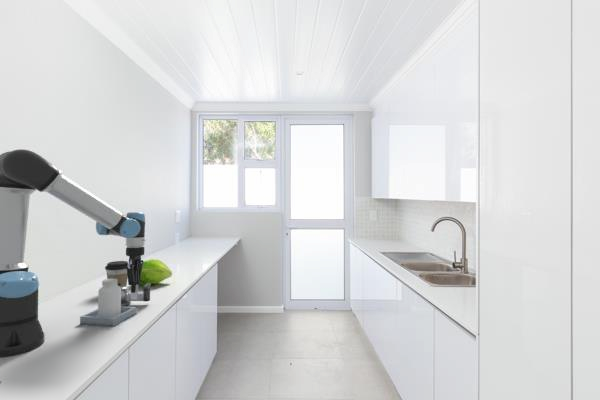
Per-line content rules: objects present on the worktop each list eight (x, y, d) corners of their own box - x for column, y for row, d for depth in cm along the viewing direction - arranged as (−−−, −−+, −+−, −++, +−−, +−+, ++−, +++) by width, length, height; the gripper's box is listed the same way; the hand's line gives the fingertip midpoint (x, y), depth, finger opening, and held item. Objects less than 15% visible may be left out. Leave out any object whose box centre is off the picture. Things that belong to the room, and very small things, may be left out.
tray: (113, 326, 129) (113, 319, 129) (80, 323, 131) (80, 316, 131) (136, 313, 143) (136, 307, 143) (106, 311, 145) (106, 305, 145)
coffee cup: (101, 296, 167) (101, 265, 167) (108, 289, 178) (108, 261, 178) (127, 294, 170) (127, 264, 170) (132, 288, 181) (132, 260, 181)
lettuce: (170, 286, 185) (170, 261, 185) (129, 288, 181) (129, 262, 180) (173, 279, 200) (173, 256, 200) (135, 281, 195) (136, 257, 195)
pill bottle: (111, 321, 132) (111, 282, 132) (93, 319, 134) (93, 281, 134) (125, 314, 140) (125, 278, 140) (108, 313, 142) (108, 277, 141)
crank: (113, 303, 152) (113, 286, 152) (119, 299, 158) (119, 282, 158) (147, 303, 152) (147, 286, 152) (152, 299, 158) (152, 282, 158)
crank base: (123, 307, 151) (123, 304, 151) (109, 306, 152) (109, 303, 152) (146, 296, 167) (146, 294, 167) (133, 295, 168) (133, 293, 168)
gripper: (137, 248, 148) (136, 303, 147) (149, 245, 160) (148, 295, 160) (120, 248, 147) (118, 303, 147) (133, 244, 160) (132, 295, 160)
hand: (134, 299), depth 153 cm, fingers closed
